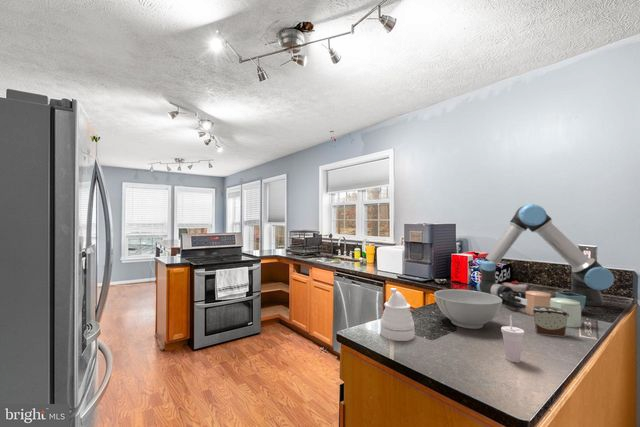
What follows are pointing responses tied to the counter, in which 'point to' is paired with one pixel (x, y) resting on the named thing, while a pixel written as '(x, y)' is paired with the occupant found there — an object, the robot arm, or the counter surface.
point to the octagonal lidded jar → (536, 300)
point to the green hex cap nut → (569, 310)
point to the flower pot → (572, 297)
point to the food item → (517, 286)
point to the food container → (550, 320)
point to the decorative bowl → (468, 307)
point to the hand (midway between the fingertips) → (538, 301)
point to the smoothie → (512, 342)
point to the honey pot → (397, 318)
